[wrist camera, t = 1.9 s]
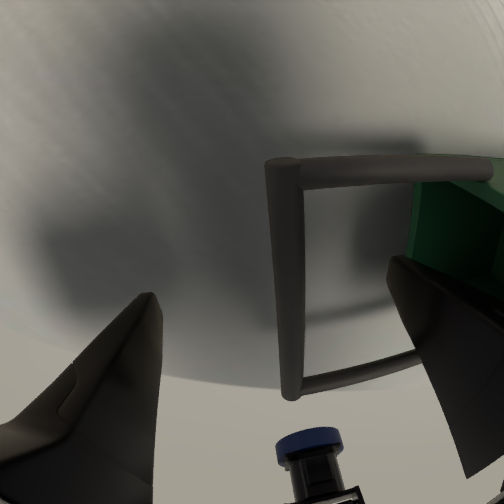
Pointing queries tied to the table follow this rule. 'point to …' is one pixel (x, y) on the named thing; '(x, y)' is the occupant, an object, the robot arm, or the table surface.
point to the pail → (418, 246)
